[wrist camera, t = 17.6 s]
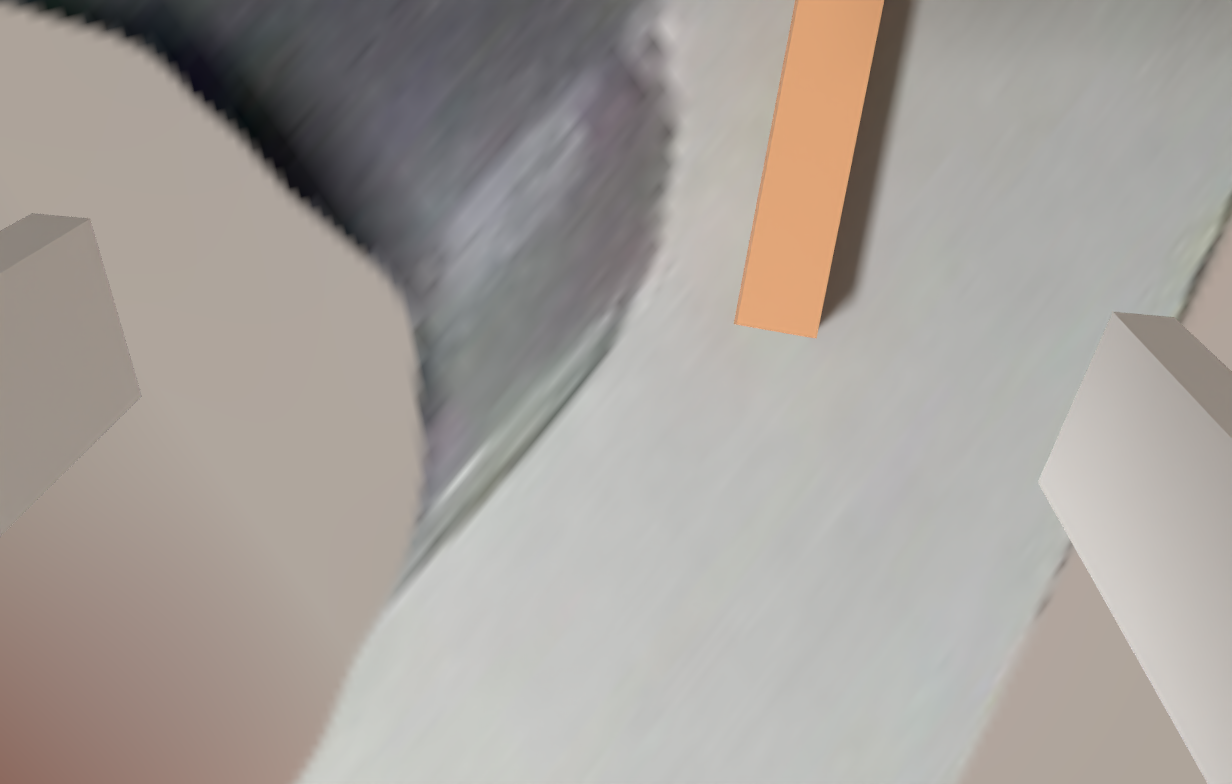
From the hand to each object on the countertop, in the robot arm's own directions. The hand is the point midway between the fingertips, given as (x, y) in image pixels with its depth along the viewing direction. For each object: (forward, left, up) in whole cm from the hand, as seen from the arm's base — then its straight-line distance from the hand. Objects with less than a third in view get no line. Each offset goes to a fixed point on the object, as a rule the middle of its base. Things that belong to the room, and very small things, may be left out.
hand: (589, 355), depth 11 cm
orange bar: (+1, +15, -24) cm, 28 cm away
